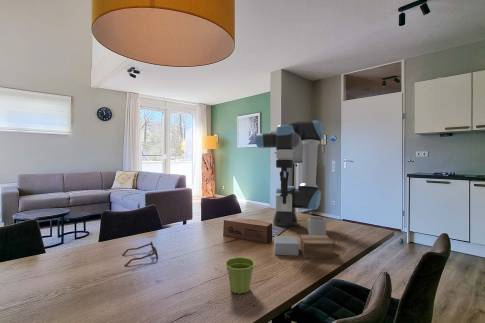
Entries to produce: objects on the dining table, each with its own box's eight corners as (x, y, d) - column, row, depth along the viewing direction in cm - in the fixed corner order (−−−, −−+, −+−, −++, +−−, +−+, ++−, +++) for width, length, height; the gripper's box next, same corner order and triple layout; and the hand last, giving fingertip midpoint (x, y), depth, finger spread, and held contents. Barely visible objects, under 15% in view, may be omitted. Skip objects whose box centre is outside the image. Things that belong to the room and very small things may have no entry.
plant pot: (232, 280, 90) (232, 255, 90) (258, 285, 86) (258, 259, 86) (220, 293, 81) (220, 266, 81) (248, 300, 77) (248, 271, 77)
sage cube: (275, 208, 123) (275, 193, 123) (290, 208, 122) (290, 193, 122) (276, 211, 116) (276, 195, 116) (291, 211, 116) (292, 195, 116)
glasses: (158, 260, 108) (158, 248, 107) (124, 267, 101) (124, 254, 101) (152, 250, 119) (152, 239, 119) (121, 256, 113) (121, 244, 113)
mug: (329, 241, 130) (330, 219, 129) (316, 243, 126) (316, 221, 126) (313, 234, 140) (313, 214, 140) (300, 236, 137) (300, 215, 136)
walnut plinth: (300, 247, 121) (300, 234, 121) (326, 248, 120) (326, 235, 120) (303, 257, 109) (303, 243, 109) (333, 258, 108) (333, 244, 108)
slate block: (274, 246, 122) (274, 235, 122) (295, 247, 121) (295, 236, 121) (274, 254, 112) (274, 243, 112) (298, 255, 111) (298, 243, 111)
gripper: (275, 159, 130) (275, 205, 130) (276, 159, 110) (275, 213, 110) (291, 159, 129) (290, 205, 129) (294, 159, 109) (293, 213, 109)
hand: (283, 209), depth 119 cm, fingers closed on sage cube, 7 cm apart
